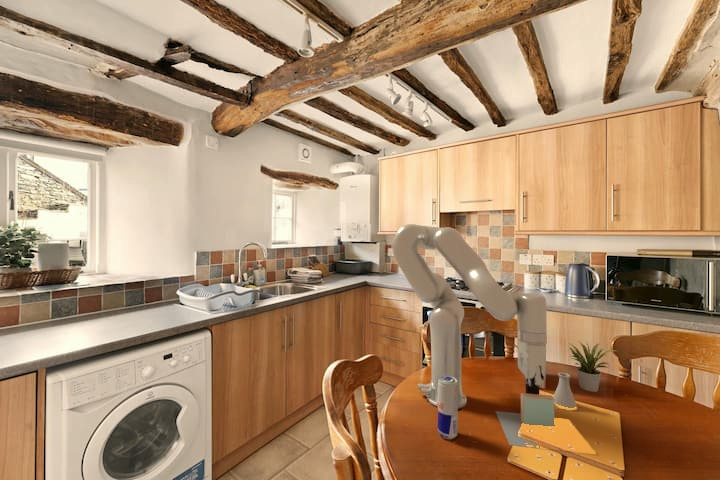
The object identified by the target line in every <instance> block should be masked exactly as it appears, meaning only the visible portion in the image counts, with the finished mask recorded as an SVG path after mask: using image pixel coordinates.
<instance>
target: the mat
mask: <svg viewBox="0 0 720 480" xmlns="http://www.w3.org/2000/svg"><path fill="white" fill-rule="evenodd" d="M495 413H496V414H495V415H496V416H497V418H498V421H499V422H500V426H501V427H502V430H503V433H504V435H505V437H506V440H507V442H508V445H509V446H515V447H522V448H528V447H527V446H524V445H533V446H534V447H531V449H537V448H536V446H537V445H536V444H535V443H533V442H530V441H529V440H525V439H523V438H521V437H519V436H518V431H519V429H520V427H521V424H522V422H521V413H520V412H519V413H517V412H507V411H498V410H495ZM525 443H528V444H525ZM539 448H540V446H539Z"/></svg>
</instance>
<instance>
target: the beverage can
mask: <svg viewBox="0 0 720 480" xmlns="http://www.w3.org/2000/svg"><path fill="white" fill-rule="evenodd" d="M458 418H459V417H458V409H457V380H456V379H455V378H453V377H450V376H440V377H439V378H438V407H437V432H438V433H439V435H440V436H441V437H442V438H444V439H446V440H453V439H455V438H456V437H457V436H458V428H459V427H458V426H459V425H458V421H459V420H458Z"/></svg>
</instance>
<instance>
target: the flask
mask: <svg viewBox="0 0 720 480" xmlns="http://www.w3.org/2000/svg"><path fill="white" fill-rule="evenodd" d="M558 377H559V378H558V379H559V380H558V385H557V386H556V390H555V391H554V393H553V395H552V397H553V398H554V402H555V403H556V404H558V405H561V406H564V407H568V408H574V407H577V408H578V406H577V402H576V399H575V397H574V394H573V392H572V389H571V385H570V379H571V374H570V373H569V374H568V373H567V372H558Z"/></svg>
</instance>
